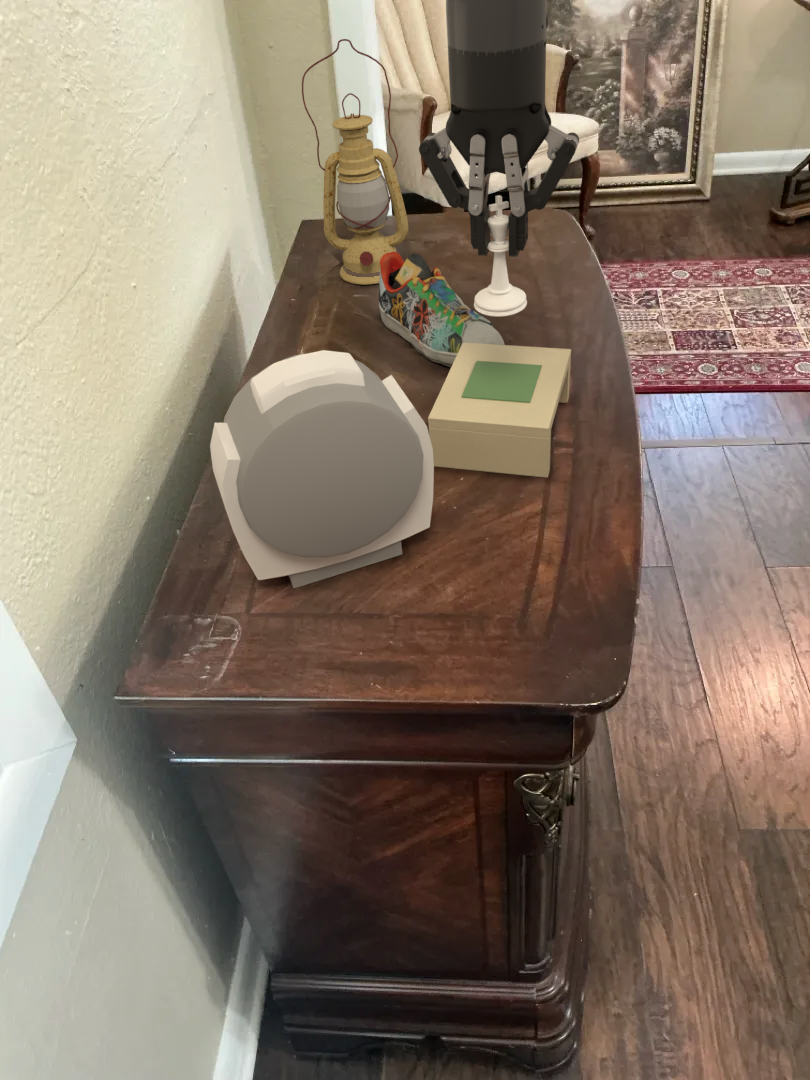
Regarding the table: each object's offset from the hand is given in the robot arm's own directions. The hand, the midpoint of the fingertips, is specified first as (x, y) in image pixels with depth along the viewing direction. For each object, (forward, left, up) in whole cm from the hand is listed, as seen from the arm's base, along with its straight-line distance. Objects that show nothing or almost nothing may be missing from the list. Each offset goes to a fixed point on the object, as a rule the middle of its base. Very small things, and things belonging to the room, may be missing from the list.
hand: (499, 252), depth 77 cm
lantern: (+27, -39, -21) cm, 52 cm away
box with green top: (0, -2, -21) cm, 21 cm away
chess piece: (0, 0, -5) cm, 5 cm away
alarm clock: (+11, +20, -21) cm, 31 cm away
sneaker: (+12, -20, -21) cm, 32 cm away
